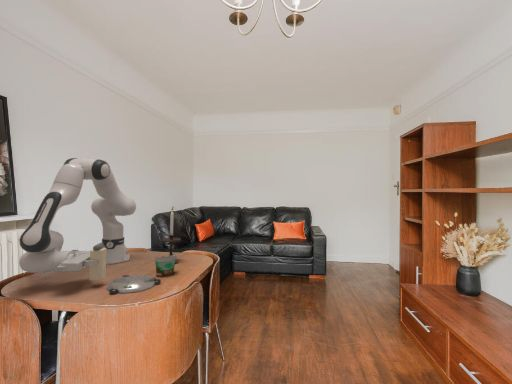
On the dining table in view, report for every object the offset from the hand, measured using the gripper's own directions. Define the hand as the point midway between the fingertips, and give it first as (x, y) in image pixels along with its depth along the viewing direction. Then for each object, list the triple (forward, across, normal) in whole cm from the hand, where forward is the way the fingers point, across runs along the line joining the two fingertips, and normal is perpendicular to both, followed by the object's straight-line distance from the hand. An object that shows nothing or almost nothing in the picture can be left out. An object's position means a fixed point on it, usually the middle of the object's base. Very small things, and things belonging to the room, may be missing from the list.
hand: (100, 260), depth 116 cm
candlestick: (+27, +37, +12) cm, 47 cm away
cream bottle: (-1, 0, +8) cm, 8 cm away
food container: (+28, +12, +12) cm, 33 cm away
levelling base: (+15, -1, +12) cm, 19 cm away
